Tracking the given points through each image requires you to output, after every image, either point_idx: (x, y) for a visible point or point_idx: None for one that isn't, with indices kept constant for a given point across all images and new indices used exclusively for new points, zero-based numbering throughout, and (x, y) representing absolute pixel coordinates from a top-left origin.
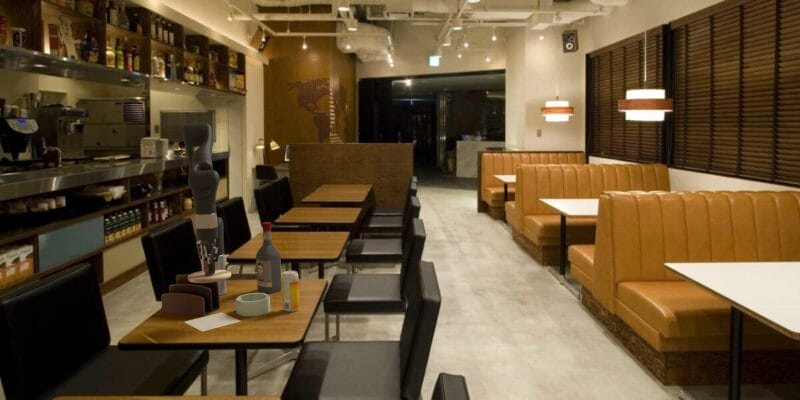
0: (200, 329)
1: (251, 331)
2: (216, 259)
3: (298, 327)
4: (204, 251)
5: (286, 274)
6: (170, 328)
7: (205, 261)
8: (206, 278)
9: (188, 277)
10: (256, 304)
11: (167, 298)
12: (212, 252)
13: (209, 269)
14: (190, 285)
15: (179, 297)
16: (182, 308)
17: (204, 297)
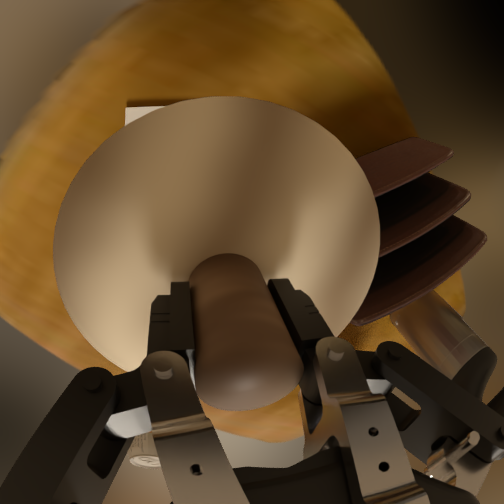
0: (150, 111)
1: (42, 235)
2: (100, 434)
3: (21, 324)
4: (330, 478)
5: (137, 455)
6: (270, 58)
7: (277, 359)
8: (117, 215)
9: (295, 116)
10: None
11: (432, 153)
12: (11, 498)
13: (168, 308)
14: (416, 231)
15: (401, 171)
16: (368, 164)
17: None
